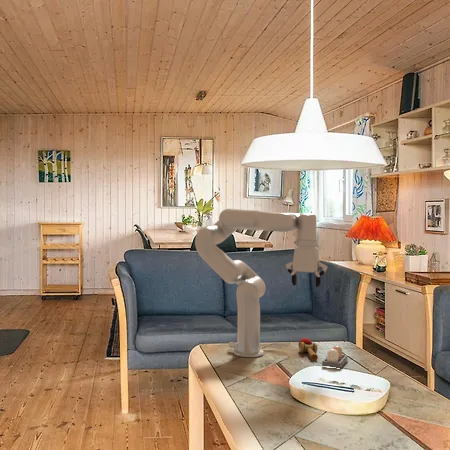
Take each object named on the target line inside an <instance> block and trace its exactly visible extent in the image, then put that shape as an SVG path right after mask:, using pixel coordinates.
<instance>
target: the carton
mask: <svg viewBox="0 0 450 450" xmlns="http://www.w3.org/2000/svg"><path fill="white" fill-rule="evenodd" d="M331 349H335V350H337V352H338V362H329V361H327V356H325V358H324V359H323V360H322V361H321V363H322V364H321V367H322V366H330V367H336V368H341V369H342V368H343V367H344V366H345V365H346V364H347V362H348V354H343V348H342V347H341V346H339V345H335V346H333V347H332V348H331Z"/></svg>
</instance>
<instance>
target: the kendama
mask: <svg viewBox="0 0 450 450" xmlns="http://www.w3.org/2000/svg"><path fill="white" fill-rule="evenodd" d="M298 350H299V353H308V356H309V358H310V360H311V361H312V360H314V361H315V362H317V360H318V359H319V357H318V355H317V353H318V343H316V342H312V340H311V339H310V338H307V337H303V338H301V339H300V340H299V342H298Z"/></svg>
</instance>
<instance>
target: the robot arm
mask: <svg viewBox="0 0 450 450" xmlns="http://www.w3.org/2000/svg"><path fill="white" fill-rule="evenodd" d="M237 230H247V231H266V232H267V231H268V232H280V233H281V232H283V233H287V232H291V231H292V232H293V231H297V239H296V240H293V244H294V245H296V247H294V253H293V257H292V258H293V259H292V261H290V262H288V263H285V267H286V269H287V272H288V273H289V274H290V276H291V284H292V286H296V285H297V283H298V282H297V281H298V280H297V276H298V275H297V273H314V274H315V276H316V277H315V288H319V287H320V286H321V283H322V281H321V280H322V276H324V275H325V273H326V271H327V269H328V268H329V267H328V266H327V265H325V264H324V263H322V262H320V256H319V248H318V247H317V215H316V214H315V213H294V212H270V211H269V212H266V211H261V210H259V209H246V208H245V209H244V208H241V209H240V208H225V209H224V210H222V211H220V214H219V217H218V220H217V221H216V222H215V223H214V224H213V225H206V226H203V227H201V228H200V229H199V230H198V231H197V233H196V235H195V238H194V239H195V240H194V245H195V249H196V251H197V253H198V255H199V257H200V258H201V259H202V260H203V261H204V262H205V263H206V264H207V265H208V266H209V267H210V268H211V269H212V270H213V271H214V272H215V273H216V274H217V275H218V276H219V277H220V278H221V279H222V280H223V281H224V282H225V283H227V284H230V285H233V284H236V285H237V288H236V294H235V295H236V303H237V335H236V336H237V338H236V339H237V341H236V342H234V341H233V342H232V341H229V342H228V347H229V348H234V350H233V354H234V355H235V356H237V357H242V358H257V357H261V356H263V355H264V350H263V349H261V345H260V344H261V304H260V298H262V297H263V296H264V295H265V293H266V289H267V288H266V284H265V282H264V280H263V279H262V278H261V277H260V276H259V274H257V273H256V272H255V271H254V270H253V269H252V268H251V267H250V266H249V265H248V264H247V263H245V262H244V261H243V260H240V259H234V260H233V259H232V258H231V257H229V256H228V255H227V254H226V252H225V251H223V250H222V249H220V248H219V247H218V246H217V245H219V244H221V243H223V242H224V241H225V240H226V239H228V238H229V237H230V236H231V235H232V234H233V233H234V232H236V231H237ZM291 266H292V268H291ZM320 267H321V268H322V269H321V271H320Z"/></svg>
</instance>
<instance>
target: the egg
mask: <svg viewBox="0 0 450 450" xmlns="http://www.w3.org/2000/svg"><path fill="white" fill-rule="evenodd" d="M326 357H327V361H329V362H338V352H337V350H335V349H332V348H331V349H328V351H327V353H326Z"/></svg>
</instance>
